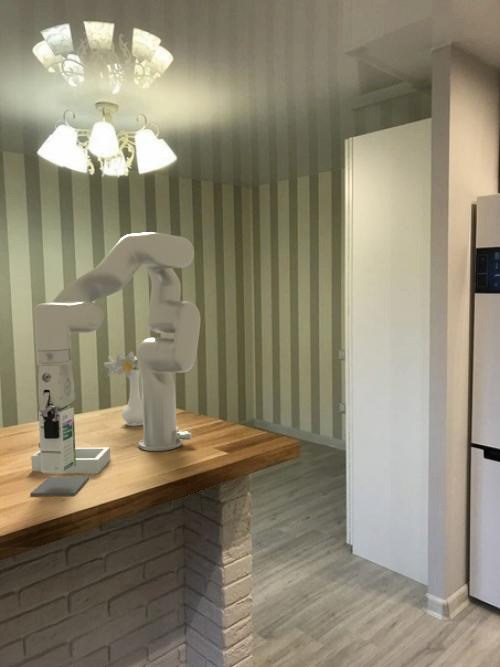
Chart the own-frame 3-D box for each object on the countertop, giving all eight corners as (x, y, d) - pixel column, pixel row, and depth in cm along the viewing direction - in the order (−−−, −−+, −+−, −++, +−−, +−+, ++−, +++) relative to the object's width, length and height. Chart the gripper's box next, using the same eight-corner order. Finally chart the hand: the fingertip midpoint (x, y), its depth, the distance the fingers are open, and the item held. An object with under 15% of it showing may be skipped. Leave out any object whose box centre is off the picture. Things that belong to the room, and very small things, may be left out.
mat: (89, 479, 127) (89, 476, 127) (74, 495, 117) (74, 492, 117) (48, 479, 128) (48, 477, 128) (30, 495, 118) (30, 493, 118)
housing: (110, 460, 141) (109, 445, 141) (98, 473, 131) (97, 457, 131) (45, 460, 142) (44, 446, 141) (28, 473, 132) (28, 458, 132)
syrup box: (63, 474, 119) (62, 411, 118) (39, 473, 120) (38, 410, 119) (76, 466, 124) (75, 406, 123) (53, 465, 125) (52, 405, 124)
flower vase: (116, 418, 186) (113, 348, 184) (165, 420, 183) (163, 349, 181) (99, 428, 174) (96, 353, 171) (152, 430, 170) (149, 353, 168)
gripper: (55, 362, 111) (59, 445, 113) (83, 352, 128) (86, 424, 130) (20, 362, 111) (25, 445, 113) (53, 352, 129) (56, 424, 130)
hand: (58, 433), depth 121 cm, fingers closed on syrup box, 6 cm apart
